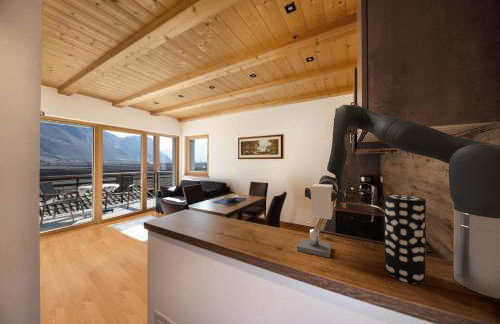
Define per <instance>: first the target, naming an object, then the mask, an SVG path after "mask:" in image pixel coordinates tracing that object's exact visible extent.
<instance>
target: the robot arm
mask: <svg viewBox="0 0 500 324" xmlns="http://www.w3.org/2000/svg"><path fill="white" fill-rule="evenodd" d="M332 127H333V128H332V139H331V150H330V153H329V154H330V155H329V158H328V159H329V160H328V162H327V167H326V170H327V171H328V172H329V173H330V174H332V175H334V176H335V177H333V176H330V175H326V174H325V175H322V176H321V177H320V179H319V181H318V184H327V185H333V193H332V194H331V201H332V202H333V203H334V201H337V200H339V201H343V200H344V199H346V197H347V196H346V195H347V194H346V193H347V191H346V189H344V170H345V166H346V164H347V159H348V151H347V147H346V141H345V140H346V139H345V138H346V133H347V130H348V129H358V130H362V131H364V132H367V133H371V134H372V135H373V136H374V137H375V138H376V139H377V140H378V141H379V142H381V143H382V144H385V145H387V146H389V147H392V148H394V149H396V150H399V151H403V152H406V153H410V154H413V155H418V156H423V157H427V158H432V159H434V160H438V161H441V162H443V163H444V164H445V163H446V164H448V182H449V183H448V184H449V189H448V190H449V196H450V199H451V201H452V202H453V278H454V280H455V281H456V282H457V283H458V284H460V285H462V286H463V287H465V288H466V289H469V290H471V291H473V292H476V293H478V294H480V295H483V296H486V297H490V298H493V299H498V298H499V300H500V144H493V143H487V142H484V141H483V142H482V141H478V140H473V139H468V138H463V137H459V136H456V135H452V134H449V133H447V132H444V131H441V130H438V129H435V128H433V127H431V126H427V125H424V124H422V123H418V122H415V121H411V120H408V119H405V118H401V117H396V116H392V115H385V114H384V115H383V114H381V113H380V114H379V113H377V112H374V111H372V110H369V109H367V108H365V107H363V106H361V105H353V104H342V105H340V106H339V107H338V108H337V110H336V111H335V114H334V116H333V126H332ZM304 197H305V198H308V199H309V200H310V201H311V187H305V189H304Z"/></svg>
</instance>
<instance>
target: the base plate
mask: <svg viewBox="0 0 500 324" xmlns="http://www.w3.org/2000/svg"><path fill="white" fill-rule="evenodd" d="M296 251H297V252H301V253H305V254H309V255H314V256H320V257H324V258H328V259H330V257H331V252H332V243H329V242H323V241H320V230H319V229H318V228H309V239H308V238H307V239H306V238H301V239H300V240H299V242H298V243H297V245H296Z"/></svg>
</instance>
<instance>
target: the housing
mask: <svg viewBox="0 0 500 324" xmlns="http://www.w3.org/2000/svg"><path fill="white" fill-rule="evenodd" d="M310 190H311V200H310V217H312V218H316V219H325V220H332V217H333V215H334V213H333V212H334V209H333V207H334V206H333V205H334V201H333V202H332V201H331V194H332V193H333V185H327V184H319V183H313V184H312V185H310Z"/></svg>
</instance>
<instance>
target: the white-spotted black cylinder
mask: <svg viewBox="0 0 500 324" xmlns="http://www.w3.org/2000/svg"><path fill="white" fill-rule="evenodd" d="M426 209H427V199H426V198H424V197H420V196H415V195H408V194H385V195H384V271H385V272H386V273H387V274H388V275H390V276H391V277H393V278H395V279H396V280H398V281H400V282H401V281H402V282H404V283H409V284H414V285H421V284H424V283H425V282H426V279H427V277H426V276H427V273H426V272H427V266H426V265H427V256H426V254H427V251H426V250H427V243H426V242H427V238H426V237H427V230H426V229H427V210H426Z"/></svg>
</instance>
